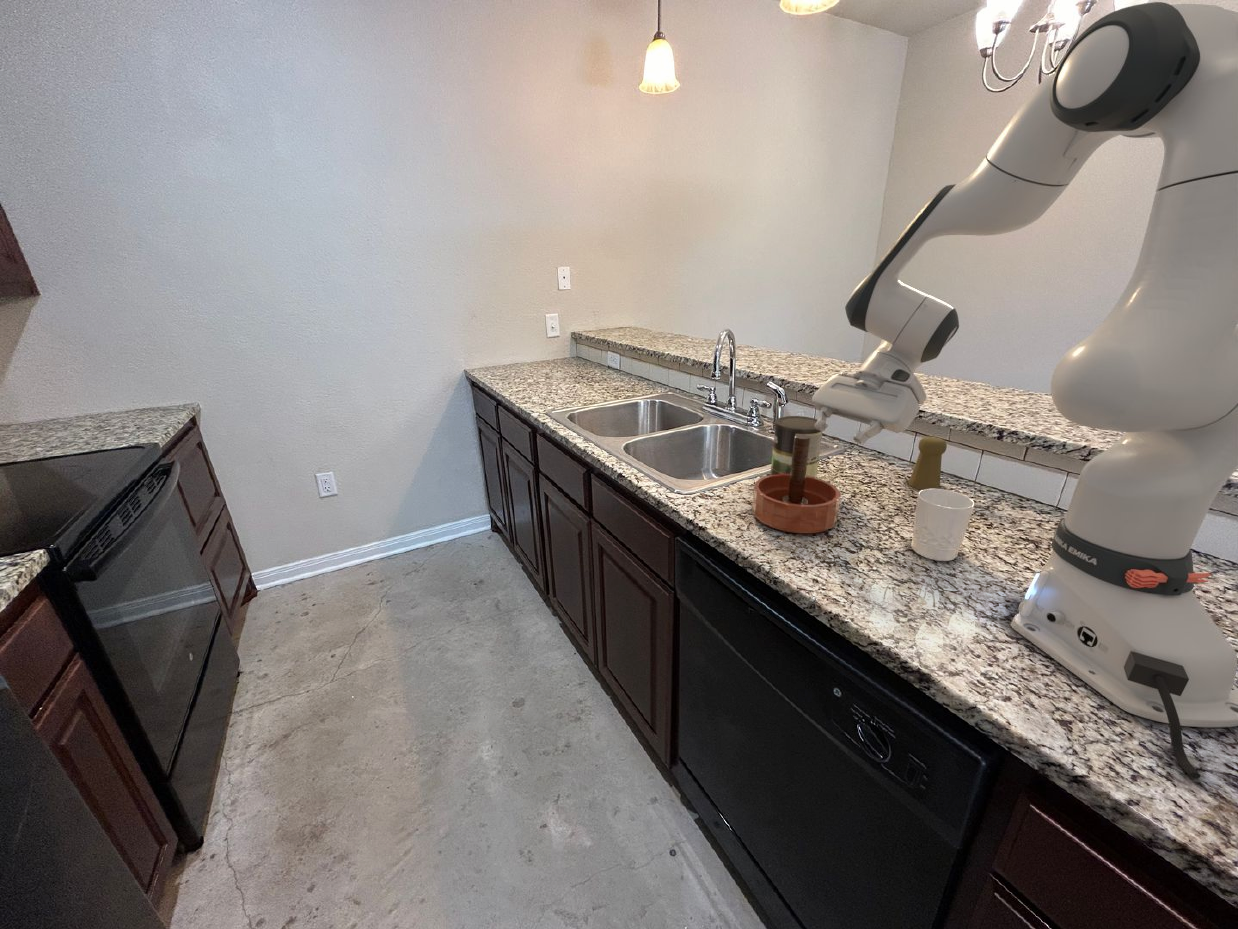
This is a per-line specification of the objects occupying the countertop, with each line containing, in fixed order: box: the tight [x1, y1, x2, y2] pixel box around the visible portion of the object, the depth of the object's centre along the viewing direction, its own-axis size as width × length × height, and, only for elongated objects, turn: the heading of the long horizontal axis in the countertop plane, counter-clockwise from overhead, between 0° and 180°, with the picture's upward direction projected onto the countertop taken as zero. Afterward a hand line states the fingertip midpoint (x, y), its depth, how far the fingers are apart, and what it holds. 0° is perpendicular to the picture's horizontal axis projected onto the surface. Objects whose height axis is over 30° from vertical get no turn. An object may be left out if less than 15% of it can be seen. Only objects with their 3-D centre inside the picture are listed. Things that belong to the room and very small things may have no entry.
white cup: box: [910, 488, 976, 562], centre depth 83 cm, size 8×8×10 cm
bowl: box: [752, 474, 841, 534], centre depth 97 cm, size 16×16×6 cm
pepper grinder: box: [908, 436, 948, 491], centre depth 109 cm, size 6×6×11 cm
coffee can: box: [769, 415, 824, 478], centre depth 112 cm, size 10×10×14 cm
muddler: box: [782, 434, 810, 505], centre depth 95 cm, size 5×5×16 cm
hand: (837, 435), depth 96 cm, fingers open, 8 cm apart
